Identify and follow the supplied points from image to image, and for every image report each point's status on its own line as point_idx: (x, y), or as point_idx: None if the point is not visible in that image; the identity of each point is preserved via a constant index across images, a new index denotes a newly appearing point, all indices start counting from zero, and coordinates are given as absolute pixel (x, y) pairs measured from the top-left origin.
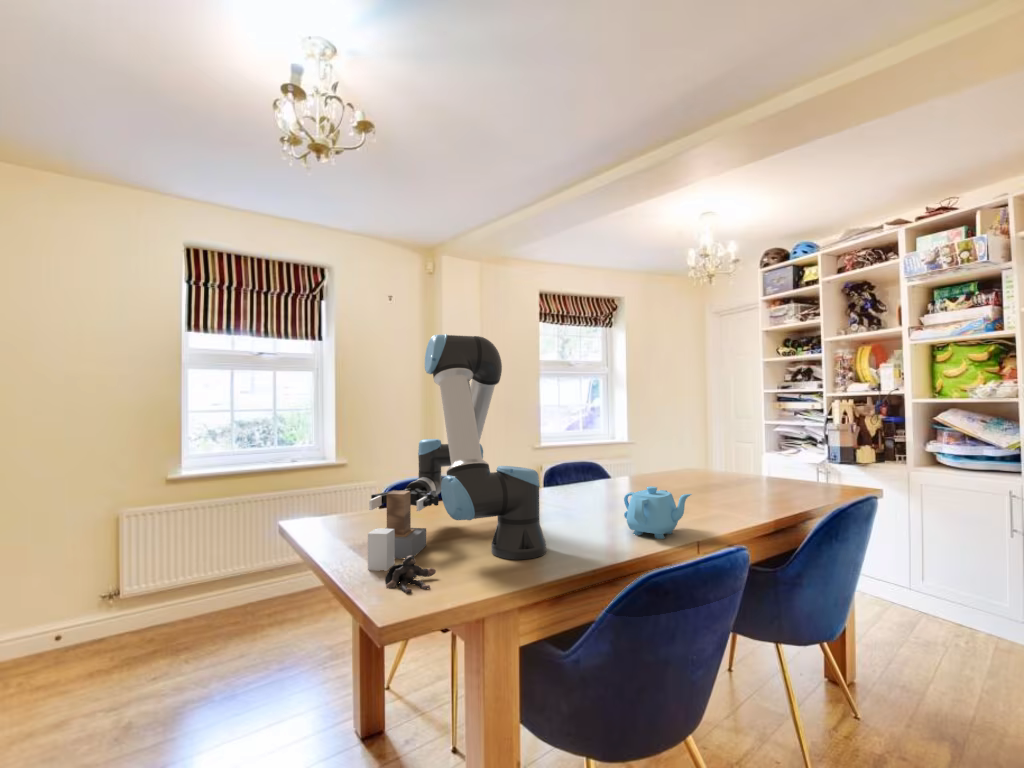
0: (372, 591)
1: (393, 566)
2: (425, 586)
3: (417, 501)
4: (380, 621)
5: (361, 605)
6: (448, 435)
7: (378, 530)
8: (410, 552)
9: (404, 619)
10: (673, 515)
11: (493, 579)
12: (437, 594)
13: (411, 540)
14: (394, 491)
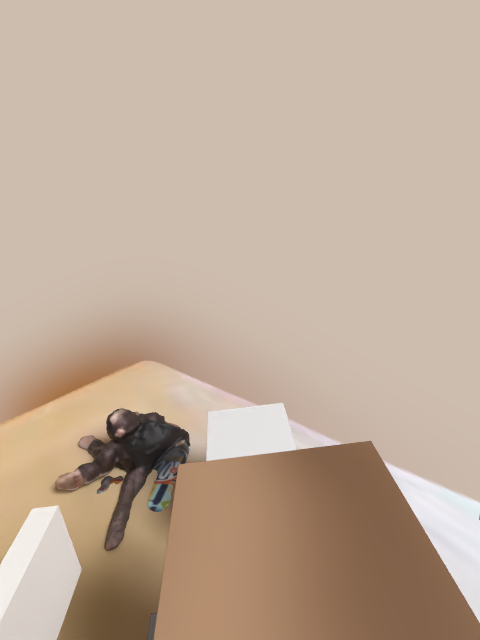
0: (201, 413)
1: (167, 424)
2: (89, 436)
3: (49, 508)
4: (151, 363)
5: (196, 380)
6: None
7: (265, 433)
8: None
9: (119, 371)
10: None
11: None
12: (65, 430)
13: (152, 617)
14: (414, 596)
